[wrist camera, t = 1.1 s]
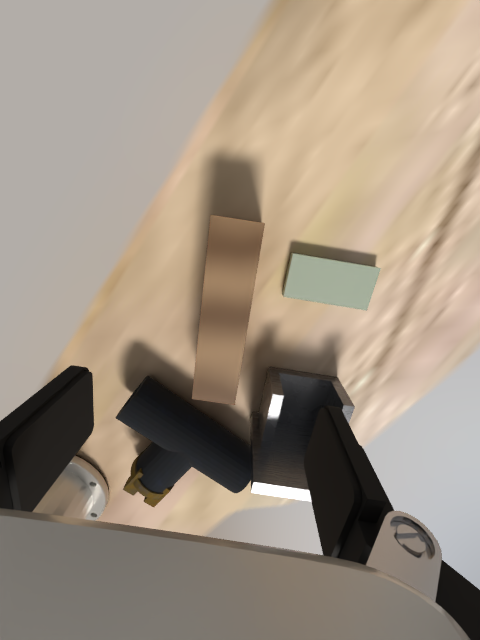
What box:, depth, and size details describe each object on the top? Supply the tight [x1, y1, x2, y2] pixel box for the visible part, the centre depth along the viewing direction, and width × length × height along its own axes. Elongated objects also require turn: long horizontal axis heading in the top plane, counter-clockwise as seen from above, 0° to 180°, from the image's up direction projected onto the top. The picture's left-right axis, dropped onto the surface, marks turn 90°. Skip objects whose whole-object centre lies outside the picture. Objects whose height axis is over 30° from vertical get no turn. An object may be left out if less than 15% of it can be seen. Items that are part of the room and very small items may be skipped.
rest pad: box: [282, 253, 381, 310], centre depth 25 cm, size 4×8×1 cm, turn 81°
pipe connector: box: [116, 376, 251, 507], centre depth 30 cm, size 12×5×15 cm
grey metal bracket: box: [250, 367, 355, 501], centre depth 26 cm, size 7×9×9 cm
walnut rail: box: [192, 215, 265, 405], centre depth 25 cm, size 16×4×5 cm, turn 172°
